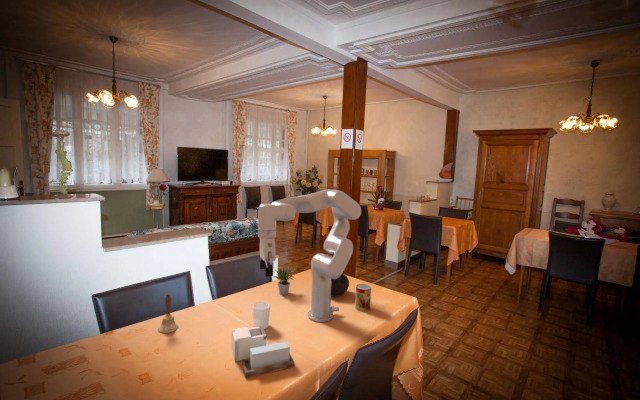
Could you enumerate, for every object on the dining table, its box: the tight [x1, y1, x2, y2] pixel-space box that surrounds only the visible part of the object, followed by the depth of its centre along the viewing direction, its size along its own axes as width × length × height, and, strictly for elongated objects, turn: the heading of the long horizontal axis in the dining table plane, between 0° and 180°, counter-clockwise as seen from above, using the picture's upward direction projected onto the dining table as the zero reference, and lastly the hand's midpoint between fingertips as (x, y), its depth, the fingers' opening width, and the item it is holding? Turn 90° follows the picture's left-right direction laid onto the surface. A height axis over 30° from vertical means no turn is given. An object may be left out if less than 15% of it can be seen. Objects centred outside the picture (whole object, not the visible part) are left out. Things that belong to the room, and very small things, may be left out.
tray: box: [240, 354, 295, 379], centre depth 116 cm, size 18×8×2 cm, turn 113°
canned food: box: [354, 283, 372, 312], centre depth 166 cm, size 8×8×12 cm
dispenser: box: [231, 326, 268, 362], centre depth 123 cm, size 12×8×9 cm, turn 113°
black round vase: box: [331, 254, 350, 297], centre depth 184 cm, size 18×18×28 cm
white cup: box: [252, 301, 271, 330], centre depth 143 cm, size 8×8×10 cm
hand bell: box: [157, 293, 179, 334], centre depth 138 cm, size 8×8×16 cm
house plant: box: [273, 266, 296, 296], centre depth 180 cm, size 14×14×16 cm
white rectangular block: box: [250, 341, 291, 370], centre depth 116 cm, size 14×4×6 cm, turn 114°
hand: (266, 272), depth 134 cm, fingers open, 9 cm apart
